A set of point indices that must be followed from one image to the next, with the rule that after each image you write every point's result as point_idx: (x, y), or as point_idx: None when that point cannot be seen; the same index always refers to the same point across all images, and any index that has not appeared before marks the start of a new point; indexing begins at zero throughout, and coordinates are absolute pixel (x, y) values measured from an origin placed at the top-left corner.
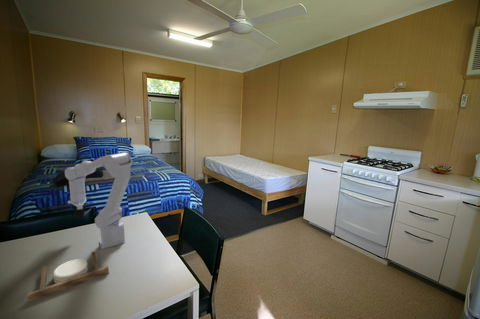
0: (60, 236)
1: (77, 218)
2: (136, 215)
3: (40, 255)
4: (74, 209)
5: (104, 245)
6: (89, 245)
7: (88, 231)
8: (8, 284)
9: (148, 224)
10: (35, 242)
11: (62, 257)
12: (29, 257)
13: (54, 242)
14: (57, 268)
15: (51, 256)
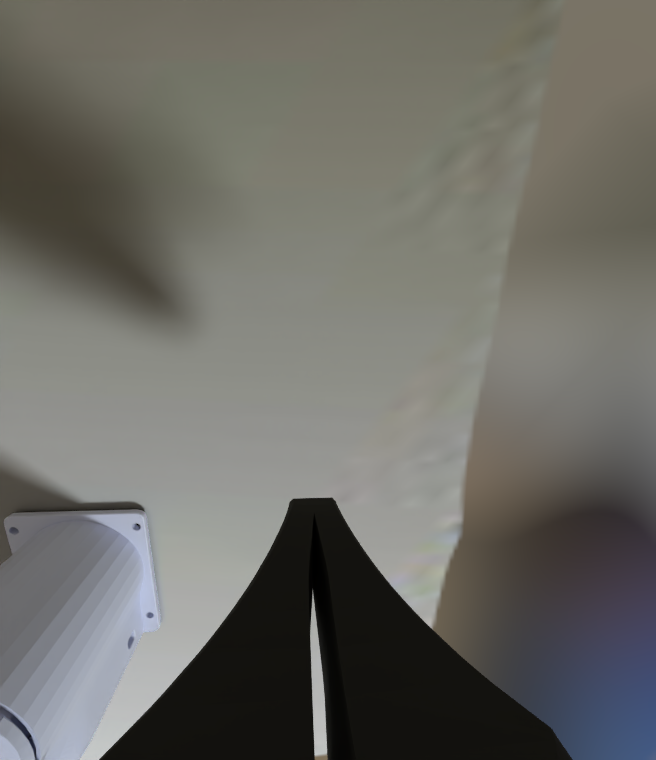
0: (396, 278)
1: (291, 503)
2: None
3: (132, 124)
4: (139, 744)
5: (32, 536)
6: (118, 449)
7: (354, 458)
8: None
9: None
10: (409, 88)
11: (14, 278)
12: (140, 37)
13: (312, 233)
14: None
15: (70, 204)
